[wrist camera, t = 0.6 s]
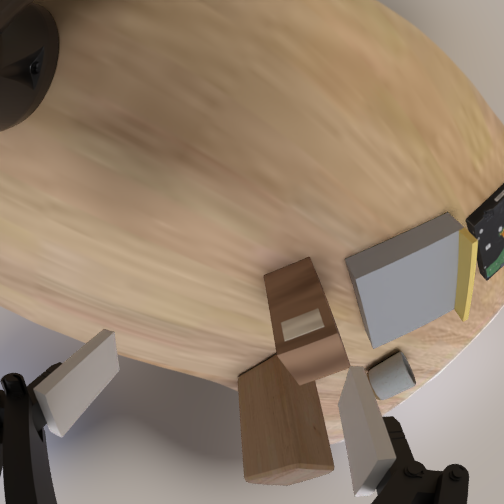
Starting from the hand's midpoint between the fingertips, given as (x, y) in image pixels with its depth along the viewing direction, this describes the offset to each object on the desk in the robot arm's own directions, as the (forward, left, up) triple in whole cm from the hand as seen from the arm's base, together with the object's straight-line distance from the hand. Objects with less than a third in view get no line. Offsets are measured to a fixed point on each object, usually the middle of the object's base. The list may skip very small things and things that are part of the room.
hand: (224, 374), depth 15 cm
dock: (+21, +18, -20) cm, 34 cm away
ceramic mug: (+44, +13, -20) cm, 50 cm away
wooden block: (+32, -7, -20) cm, 38 cm away
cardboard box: (+14, +3, -20) cm, 24 cm away
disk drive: (+21, +37, -20) cm, 47 cm away
